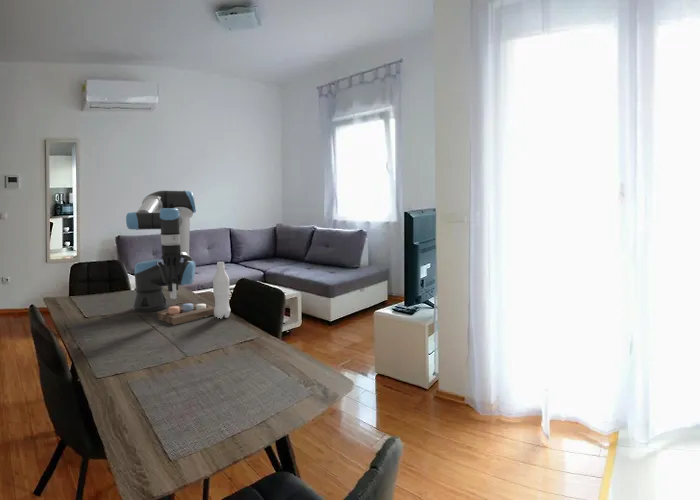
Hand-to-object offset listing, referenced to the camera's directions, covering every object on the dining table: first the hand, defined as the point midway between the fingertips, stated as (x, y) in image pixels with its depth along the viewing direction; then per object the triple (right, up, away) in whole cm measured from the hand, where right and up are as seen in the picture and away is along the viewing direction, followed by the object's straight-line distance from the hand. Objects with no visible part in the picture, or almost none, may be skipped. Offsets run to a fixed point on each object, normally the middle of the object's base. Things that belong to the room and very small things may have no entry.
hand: (173, 298), depth 180 cm
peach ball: (0, -8, +1) cm, 8 cm away
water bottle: (+20, -9, +6) cm, 22 cm away
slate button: (+4, -7, +6) cm, 11 cm away
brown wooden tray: (+4, -9, +6) cm, 12 cm away
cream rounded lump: (+8, -8, +11) cm, 16 cm away
